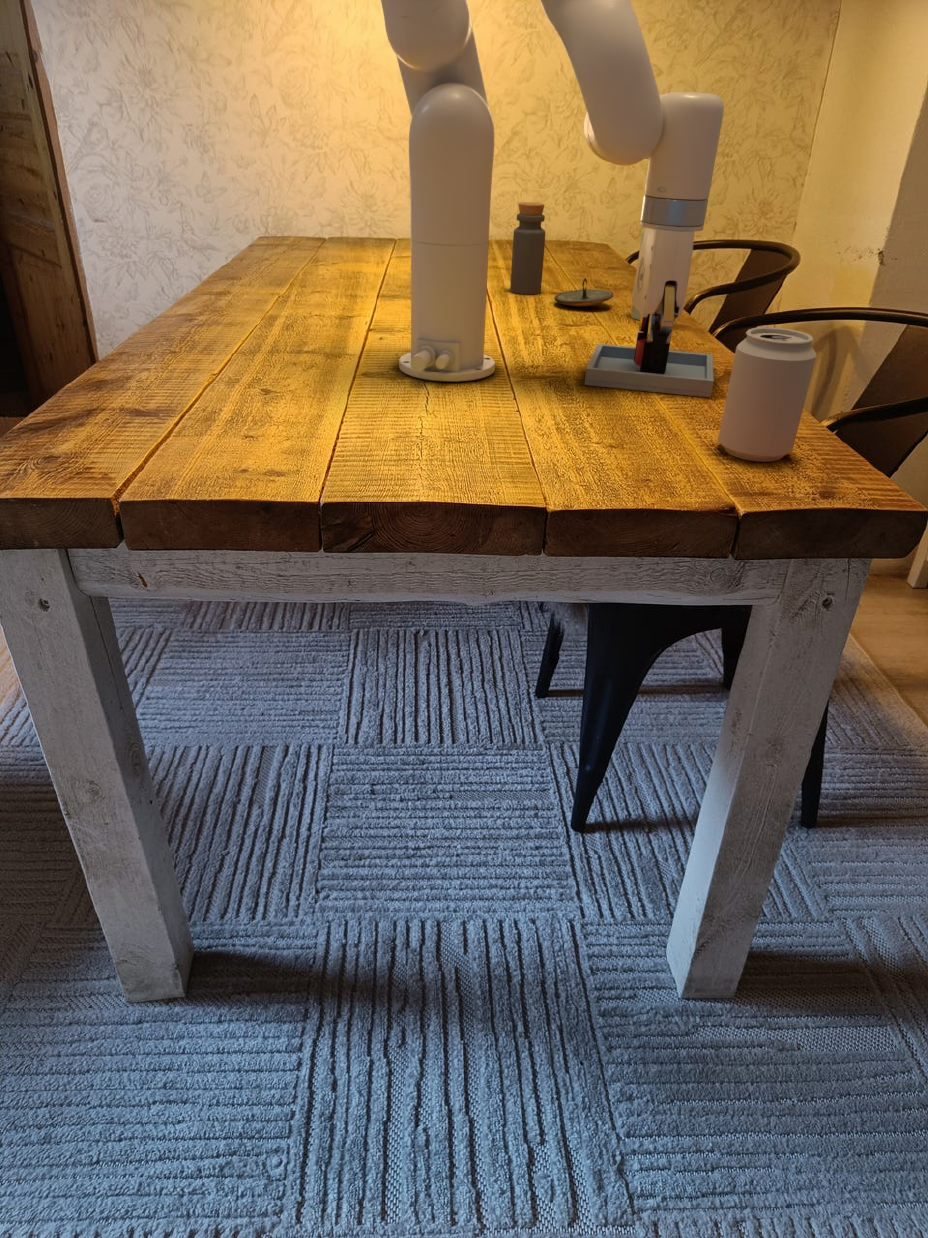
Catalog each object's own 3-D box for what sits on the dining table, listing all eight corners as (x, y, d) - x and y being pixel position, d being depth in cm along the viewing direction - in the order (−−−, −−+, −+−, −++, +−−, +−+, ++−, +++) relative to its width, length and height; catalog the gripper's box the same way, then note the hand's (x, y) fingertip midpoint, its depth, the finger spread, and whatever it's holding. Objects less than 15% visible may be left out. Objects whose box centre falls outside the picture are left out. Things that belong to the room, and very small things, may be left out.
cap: (671, 367, 107) (675, 345, 106) (644, 369, 106) (647, 346, 105) (655, 359, 111) (659, 337, 109) (628, 360, 110) (632, 339, 108)
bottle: (504, 291, 156) (510, 203, 148) (517, 287, 161) (523, 200, 153) (533, 295, 154) (540, 205, 146) (545, 291, 158) (552, 203, 151)
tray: (710, 397, 102) (713, 380, 101) (584, 385, 105) (586, 368, 104) (710, 369, 114) (712, 354, 112) (595, 358, 116) (597, 343, 115)
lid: (618, 319, 146) (627, 289, 144) (571, 306, 141) (580, 276, 139) (588, 309, 154) (596, 281, 152) (543, 297, 150) (551, 268, 148)
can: (776, 439, 90) (803, 324, 83) (802, 465, 83) (834, 342, 77) (707, 438, 89) (730, 322, 83) (728, 463, 83) (754, 340, 77)
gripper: (630, 205, 106) (611, 351, 116) (654, 220, 92) (630, 385, 102) (689, 208, 106) (665, 354, 116) (722, 224, 92) (691, 388, 102)
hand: (649, 367), depth 109 cm, fingers closed on cap, 4 cm apart
